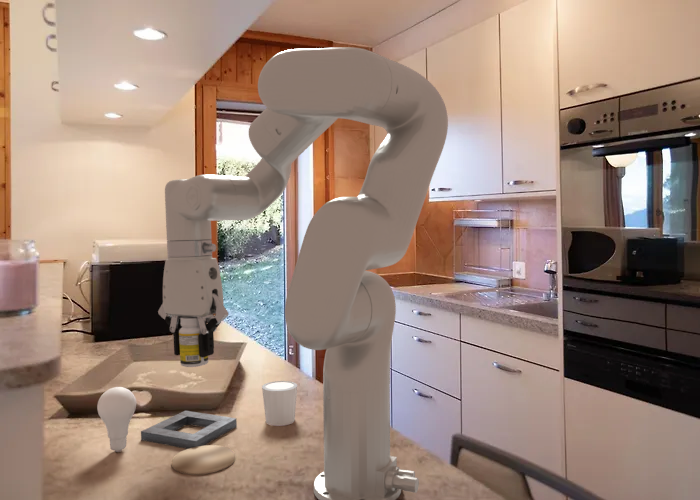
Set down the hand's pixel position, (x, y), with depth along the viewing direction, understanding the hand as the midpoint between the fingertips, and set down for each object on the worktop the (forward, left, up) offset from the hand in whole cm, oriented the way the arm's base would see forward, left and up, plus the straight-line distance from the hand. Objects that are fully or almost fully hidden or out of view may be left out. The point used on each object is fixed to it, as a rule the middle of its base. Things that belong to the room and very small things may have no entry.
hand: (194, 353), depth 101 cm
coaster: (-6, +6, -16) cm, 18 cm away
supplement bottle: (0, 0, -2) cm, 2 cm away
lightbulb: (+9, +9, -16) cm, 20 cm away
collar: (+4, -3, -16) cm, 16 cm away
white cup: (-8, -15, -16) cm, 23 cm away
